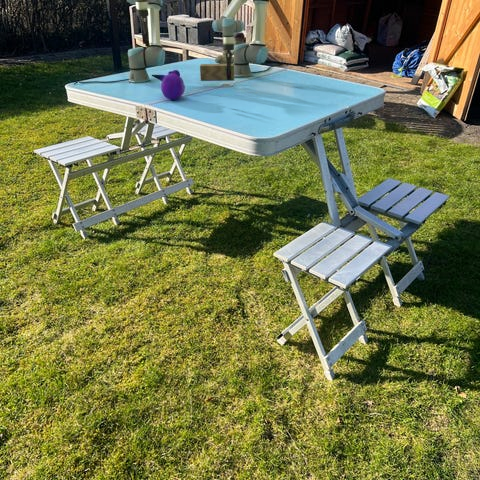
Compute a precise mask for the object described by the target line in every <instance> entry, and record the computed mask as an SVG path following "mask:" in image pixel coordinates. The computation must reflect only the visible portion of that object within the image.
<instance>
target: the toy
mask: <svg viewBox="0 0 480 480" xmlns="http://www.w3.org/2000/svg"><path fill="white" fill-rule="evenodd" d="M151 77H153V78H155V79H156V80H159V81H161V83H160V89H161V93H162V95H163V97H165V98H166V99H168V100H171V101H172V100H173V101H177V100H178V99H180V98H181V97H182V96H183V95H184V93H185V90H186V86H185V82H184V79H183V78H182V77H181V73H180V71H179V70H178V69H174V70H170V71H168V73H167V74H151Z"/></svg>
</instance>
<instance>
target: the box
mask: <svg viewBox="0 0 480 480" xmlns="http://www.w3.org/2000/svg"><path fill="white" fill-rule="evenodd" d="M226 69H227V64H219V63H201V64H200V65H199V77H200V82H234V81H235V78H236V77H234V63H233V64H231V80H227V70H226Z"/></svg>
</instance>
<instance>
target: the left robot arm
mask: <svg viewBox="0 0 480 480" xmlns="http://www.w3.org/2000/svg"><path fill="white" fill-rule="evenodd" d="M126 2H127V3H129V4H130V5H133V6H135V9H136V16H137V17H139V22H140V33H141V39H142V45H145V47H146V48H144V47H143V46H138V47H134V48H130V49H128V50H127V56H128V66H129V76H128V78H124V79H119V80H108V81H107V80H106V81H105V80H104V81H99V80H94V81H93V80H91V81H81V80H80V81H75V82H74V83H73V85H77V84H95V83H99V84H111V83H120V82H127V81H128V82H129V83H133V84H141V83H148V82H150V76H149V74H148V71H147V67H162V66H163V65H165V61H166V49H165V48H163V45H162V44H161V29H160V10H161V8H162V6H163V5H164V4H163V3H164V2H163V0H126ZM78 82H79V83H78Z"/></svg>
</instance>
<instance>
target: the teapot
mask: <svg viewBox="0 0 480 480" xmlns="http://www.w3.org/2000/svg"><path fill="white" fill-rule="evenodd" d="M223 51H224V52H223ZM223 51H222V55H217V56H216V57H215V59H214V62H215V64H227V60H226V53H227V50H223ZM231 53H232V56H231V64H234V58H233V57H234V50H232V51H231Z"/></svg>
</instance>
